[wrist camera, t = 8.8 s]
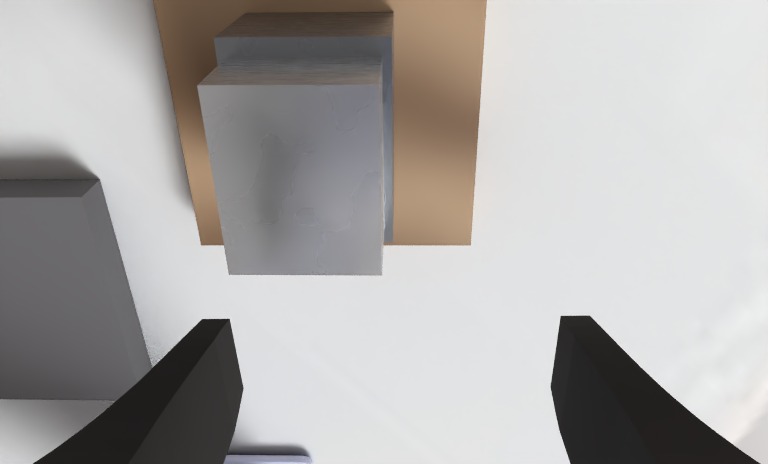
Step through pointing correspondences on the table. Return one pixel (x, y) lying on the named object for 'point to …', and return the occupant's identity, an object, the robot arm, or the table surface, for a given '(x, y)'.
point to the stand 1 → (64, 296)
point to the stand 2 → (411, 104)
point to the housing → (303, 141)
